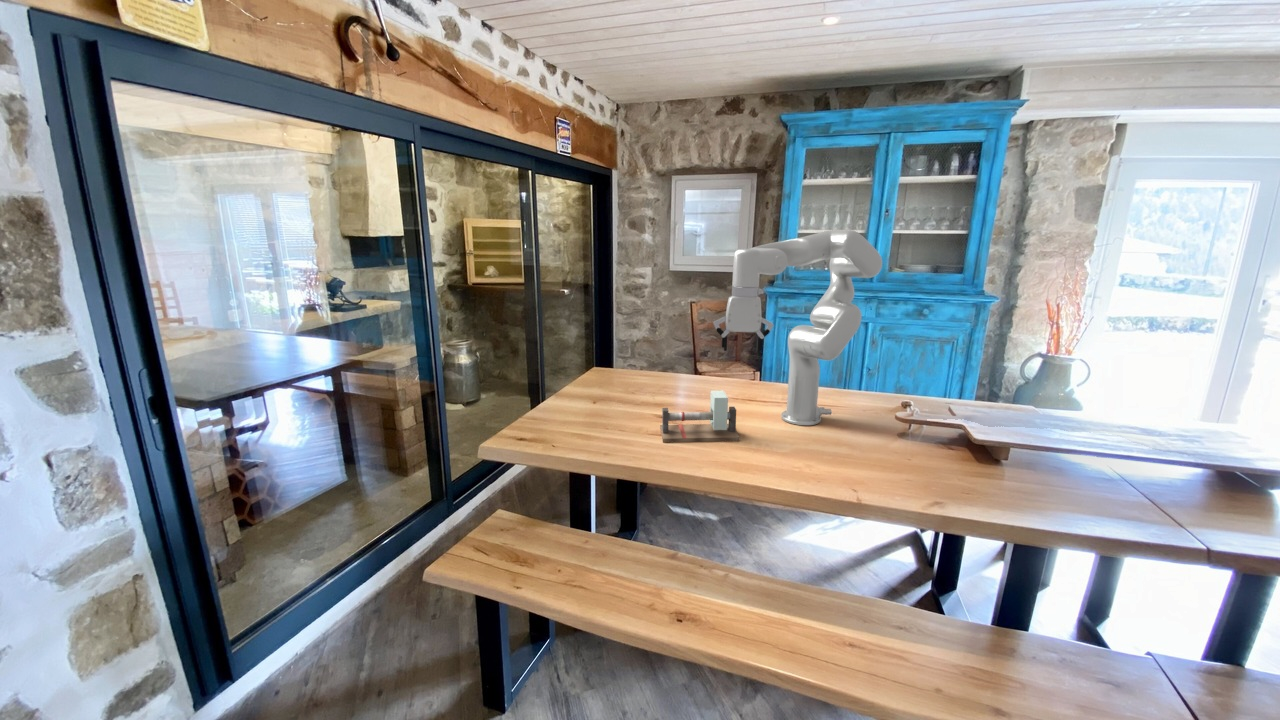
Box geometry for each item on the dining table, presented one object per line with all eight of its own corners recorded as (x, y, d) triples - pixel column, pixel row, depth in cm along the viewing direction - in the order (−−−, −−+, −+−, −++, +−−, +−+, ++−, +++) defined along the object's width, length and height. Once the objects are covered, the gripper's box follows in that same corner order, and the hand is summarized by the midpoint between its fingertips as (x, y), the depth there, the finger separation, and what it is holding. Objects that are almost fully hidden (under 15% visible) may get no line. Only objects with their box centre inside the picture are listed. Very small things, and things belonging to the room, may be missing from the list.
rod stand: (731, 427, 160) (732, 402, 158) (739, 440, 149) (740, 414, 147) (660, 428, 160) (660, 403, 158) (662, 442, 149) (662, 415, 147)
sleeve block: (722, 421, 157) (723, 390, 155) (726, 429, 151) (728, 397, 148) (709, 421, 157) (710, 390, 155) (713, 430, 151) (714, 397, 148)
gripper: (773, 292, 147) (769, 349, 151) (714, 290, 149) (711, 347, 153) (777, 294, 140) (773, 354, 144) (715, 293, 142) (712, 352, 146)
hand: (741, 350), depth 148 cm, fingers open, 9 cm apart
